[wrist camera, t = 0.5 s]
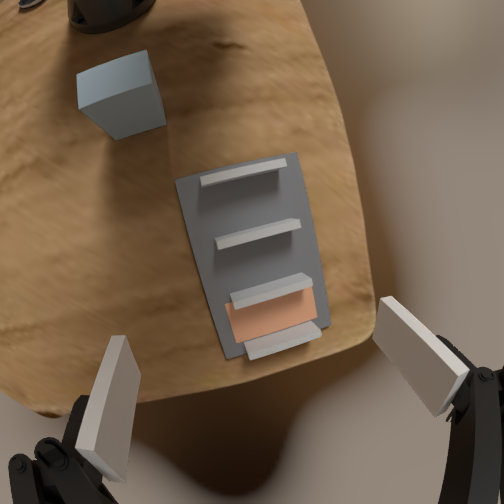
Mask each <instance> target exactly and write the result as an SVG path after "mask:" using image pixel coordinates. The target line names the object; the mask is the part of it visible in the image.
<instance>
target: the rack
mask: <svg viewBox="0 0 504 504" xmlns="http://www.w3.org/2000/svg"><path fill="white" fill-rule="evenodd" d="M175 184H176V188H177V192H178V196H179V200H180V204H181V208H182V212H183V216H184V220H185V223H186V227H187V231H188V235H189V238H190V242H191V246H192V249H193V253H194V256H195V260H196V263H197V267H198V270H199V274H200V277H201V281H202V284H203V287H204V291H205V294H206V297H207V300H208V304H209V307H210V310H211V313H212V316H213V320H214V323H215V326H216V329H217V332H218V335H219V338H220V341H221V344H222V347H223V350H224V353H225V356H226V359H230V358H233V357H237V356H240V355H244V354H247V353H248V356H249V359H250V360H253V359H257V358H260V357H263V356H266V355H269V354H273V353H276V352H279V351H282V350H285V349H288V348H291V347H294V346H296V345H299V344H302V343H305V342H308V341H310V340H313V339H316V338H319V337H321V336H322V335H321V330H320V329H322V328H325V327H327V326H330V325H331V319H330V313H329V306H328V300H327V294H326V288H325V282H324V276H323V271H322V265H321V260H320V254H319V249H318V244H317V239H316V234H315V229H314V224H313V219H312V215H311V210H310V206H309V201H308V197H307V192H306V188H305V184H304V179H303V175H302V171H301V167H300V163H299V159H298V155H297V152H295V153H289V154H283V155H278V156H273V157H267V158H262V159H257V160H253V161H248V162H243V163H239V164H234V165H230V166H225V167H221V168H217V169H213V170H209V171H205V172H201V173H197V174H193V175H189V176H186V177H182V178H178V179H175Z"/></svg>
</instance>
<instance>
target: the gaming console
mask: <svg viewBox="0 0 504 504" xmlns="http://www.w3.org/2000/svg"><path fill="white" fill-rule="evenodd" d="M42 1H43V0H20V2H19V3H18V5H19V6H20V7H21V8H27V7H31V6H34V5H36V4H38V3H40V2H42Z"/></svg>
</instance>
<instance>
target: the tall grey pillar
mask: <svg viewBox="0 0 504 504" xmlns="http://www.w3.org/2000/svg"><path fill="white" fill-rule="evenodd" d="M77 95H78V108H79V110H80V111H81V112H83V113H84V114H85V115H86V116H87V117H88V118H90V119H91V120H92V121H93V122H94V123H96V124H97V125H98V126H99V127H100V128H102V129H103V130H104V131H105V132H106V133H108V134H109V135H110V136H111V137H112V138H114V139H115V140H116V141H117V140H120V139H123V138H126V137H129V136H132V135H135V134H138V133H141V132H144V131H148V130H151V129H154V128H158V127H161V126H165V125H167V123H166V118H165V113H164V108H163V103H162V98H161V95H160V92H159V89H158V85H157V82H156V79H155V76H154V72H153V69H152V66H151V62H150V59H149V56H148V52H147V50H143V51H140V52H136V53H133V54H130V55H127V56H124V57H121V58H118V59H115V60H112V61H109V62H106V63H104V64H101V65H98V66H96V67H93V68H91V69H88V70H86V71H84V72H81V73H79V74H77Z"/></svg>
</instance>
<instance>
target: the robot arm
mask: <svg viewBox="0 0 504 504" xmlns="http://www.w3.org/2000/svg"><path fill="white" fill-rule="evenodd" d="M154 1H155V0H67V2H68V17H69V20H70V22H71V23H72V25H73V26H74V28H75V29H76V30H78V31H80V32H82V33H88V34H96V33H103V32H107V31H111V30H114V29H117V28H119V27H122V26H124V25H126V24H128V23H130V22H131V21H133V20H135V19H136V18H138V17H139V16H141V15H142V14H143V13H144V12H146V11H147V10H148V9H149V8H150V7H151V5H152V4H153V3H154ZM372 339H373V340H374V341H375V342H376V344H377V345H378V346H379V347H380V349H381V350H382V351H383V352H384V354H385V355H386V356H387V357H388V358H389V360H390V361H391V362H392V363H393V365H394V366H395V367H396V368H397V370H398V371H399V372H400V373H401V375H402V376H403V377H404V379H405V380H406V381H407V382H408V384H409V385H410V386H411V387H412V389H413V390H414V391H415V393H416V394H417V395H418V396H419V398H420V399H421V400H422V402H423V403H424V404H425V406H426V407H427V408H428V409H429V411H430V412H431V413H432V415H433V416H434V417H437V416H439V415H440V414H442V413H444V412H445V411H446V410H447V409H448V407H449V406H450V404H451V403H452V404H453V405H454V408H453V409H452V411H451V412H450V414H449V415H448V417H447V419H446V422H448V420H449V419H450V417H451V416H452V419H451V421H450V422H451V432H450V441H449V449H448V456H447V463H446V469H445V475H444V480H443V484H442V490H441V493H440V498H439V502H438V504H497V503H498V496H499V488H500V499H501V504H504V366H503V368H502V369H500V370H497V371H492V370H491V369H489V368H486V367H479V368H476V367H475V366H474V365H473V364H472V363H471V362H470V361H469V360H468V359H467V358H466V357H465V356H464V355H463V354H462V353H461V352H460V351H458V349H457V348H456V347H455V346H454V347H453V345H452V344H451V343H450V342H449V341H448V340H447V339H445V338H443V337H441V336H440V335H437V336H435V335H434V334H433V333H431V332H430V331H429V330H428V329H427V328H426V327H425V326H424V325H423V324H422V323H421V322H420V321H419V320H417V319H416V318H415V317H414V316H413V315H412V314H411V313H410V312H409V311H408V310H407V309H405V308H404V307H403V306H402V305H401V304H400V303H398V302H397V301H396V300H395V299H394V298H393V297H392V296H389V297H385V298H380V302H379V308H378V313H377V318H376V324H375V328H374V333H373V338H372ZM140 379H141V373H140V371H139V368H138V366H137V363H136V361H135V358H134V356H133V353H132V351H131V348H130V345H129V343H128V340H127V337H126V335H116V336H112V337H111V339H110V342H109V344H108V347H107V349H106V352H105V355H104V357H103V360H102V363H101V365H100V368H99V371H98V374H97V377H96V380H95V382H94V385H93V388H92V391H91V394H90V396H89V395H81V396H80V397H79V398H78V399H77V400H76V402H75V403H74V405H73V408H72V411H71V414H70V417H69V422H68V423H67V426H66V430H65V433H64V436H63V440H62V443H61V442H59V440H57V439H55V438H52V437H47V438H43V439H42V440H40V441H39V442H38V443H37V445H36V447H35V451H34V454H35V458H36V459H37V460H31V459H30V458H29V457H28V456H26V455H24V454H16V455H14V456H13V457H12V458H11V459H10V461H9V466H8V469H9V478H10V486H11V493H12V499H13V504H118V502H117V501H116V500H115V499H114V497H113V496H112V495H111V493H110V492H109V491H108V489H107V488H106V487H105V485H104V484H103V483H102V476H104V477H105V478H106V479H107V480H109V481H113V482H121V483H126V476H127V466H128V456H129V449H130V440H131V433H132V426H133V420H134V413H135V406H136V401H137V395H138V390H139V384H140Z"/></svg>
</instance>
